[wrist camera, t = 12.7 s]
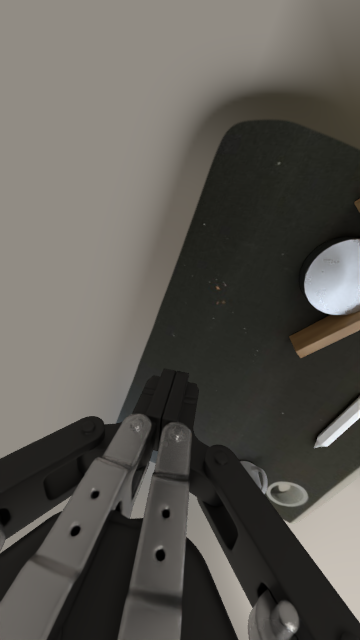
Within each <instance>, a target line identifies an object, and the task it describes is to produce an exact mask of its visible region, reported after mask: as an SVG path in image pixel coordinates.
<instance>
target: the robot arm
mask: <svg viewBox="0 0 360 640" xmlns="http://www.w3.org/2000/svg"><path fill="white" fill-rule="evenodd" d="M188 378H189V373H185V372H180V371H177V372H176V371H174V370H169V369H164V370H163V372H162V375H161V377H159V376H152V377H151V378H150V379H149V380H148V381H147V383H146V385H145V387H144V389H143V391H142V394H141V396H140V398H139V400H138V402H137V404H136V407H135V409H134V411H133V413H132V415H130V416H128V417H127V418H125V420H124V421H123V422H121V423H117V424H105V425H104V422H103V421H102V419H100V418H98V417H95V416H89V417H85V418H83V419H80V420H78V421H76V422H74V423H72V424H70V425H68V426H66V427H64V428H62V429H60V430H58V431H56V432H54V433H52V434H50V435H48V436H46V437H44V438H42V439H40V440H38V441H35V442H33V443H31V444H29V445H27V446H25V447H23V448H21V449H19V450H17V451H15V452H13V453H11V454H9V455H7V456H5V457H3V458H1V459H0V551H1V549H2V547H3V545H4V542H5V540H6V539H7V538H9V537H10V536H12V535H13V534H15V533H16V532H18V531H19V530H21V529H22V528H24V527H25V526H27V525H28V524H30V523H31V522H33V521H34V520H36V519H37V518H39V517H40V516H42V515H43V514H45V513H46V512H48V511H49V510H51V509H52V508H53V507H55V506H57V505H58V504H59V503H61V502H62V501H64V500H66V499H67V498H69V497H70V496H72V497H71V498H70V500H69V501H68V503H67V505H66V506H65V508H64V509H63V511H61V512H59V513H57V514H55V515H53V516H52V517H50V518H49V519H47V520H46V521H45V522H43V523H42V524H40V525H39V526H38V527H36V528H35V529H33V530H32V531H31V532H29V533H28V534H27V535H25V536H24V537H22V538H21V539H20V540H18V541H17V542H15V543H14V544H13V545H11V546H10V547H9V548H7V549H6V550H4V551H3V552H2V553H0V640H238V638H237V635H236V633H235V631H234V628H233V626H232V623H231V621H230V619H229V617H228V614H227V611H226V609H225V607H224V604H223V602H222V600H221V597H220V595H219V592H218V590H217V588H216V585H215V583H214V580H213V578H212V576H211V573H210V571H209V569H208V566H207V564H206V562H205V560H204V558H203V556H202V555H201V553H200V552H199V550H198V549H197V548H196V546H195V545H194V544H193V543H192V542H191V541H190V540H189V539H188V538H187V537H186V529H187V515H188V499H189V492H190V493H192V494H193V495H195V496H196V497H197V500H198V502H199V504H200V506H201V508H202V511H203V513H204V514H205V516H206V518H207V520H208V522H209V524H210V526H211V528H212V530H213V532H214V534H215V536H216V538H217V540H218V542H219V544H220V545H221V547H222V549H223V551H224V553H225V555H226V557H227V559H228V561H229V563H230V565H231V567H232V569H233V571H234V573H235V575H236V577H237V578H238V580H239V582H240V584H241V586H242V588H243V590H244V592H245V594H246V596H247V598H248V600H249V602H250V604H251V606H252V608H253V609H252V611H251V612H250V615H249V620H248V634H249V640H360V623H359V621H358V620H357V619H356V618H355V616H354V615H353V613H352V612H351V611H350V610H349V608H348V606H347V605H346V604H345V602H344V601H343V600H342V598H341V597H340V596H339V594H338V593H337V592H336V590H335V589H334V588H333V586H332V585H331V584H330V582H329V581H328V580H327V578H326V577H325V576H324V574H323V573H322V571H321V570H320V569H319V567H318V566H317V565H316V563H315V562H314V561H313V559H312V558H311V557H310V555H309V554H308V553H307V551H306V550H305V549H304V547H303V546H302V545H301V543H300V542H299V540H298V539H297V538H296V536H295V535H294V534H293V533H292V531H291V530H290V528H289V527H288V526H287V524H286V523H285V522H284V520H283V519H282V518H281V516H280V515H279V514H278V512H277V511H276V510H275V508H274V507H273V505H272V504H271V503H270V501H269V500H268V499H267V497H266V496H265V495H264V493H263V492H262V491H261V489H260V488H259V487H258V485H257V484H256V483H255V481H254V480H253V479H252V477H251V476H250V475H249V473H248V472H247V470H246V469H245V468H244V466H243V465H242V464H241V462H240V461H239V460H238V458H237V457H236V456H235V454H234V453H233V452H232V451H231V450H230V449H229V448H227V447H225V446H223V445H213V446H211V447H209V446H207V445H205V444H203V443H202V442H200V441H199V440H198V439H197V437H196V436H195V434H194V431H193V425H194V419H195V412H196V406H197V400H198V393H199V390H198V387H197V384H195V383H190V382H188ZM158 449H159V450H158ZM153 450H155V451H158V455H157V460H156V465H155V470H154V473H153V475H152V479H151V484H150V489H149V493H148V498H147V503H146V508H145V513H144V518H140V519H130V517H131V512H132V508H133V505H134V502H135V499H136V496H137V494H138V492H139V489H140V486H141V484H142V481H143V479H144V476H145V474H146V471H147V469H148V466H149V461H150V458H151V455H152V452H153Z"/></svg>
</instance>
